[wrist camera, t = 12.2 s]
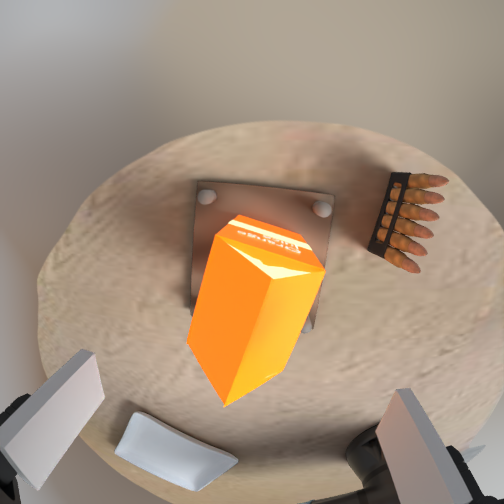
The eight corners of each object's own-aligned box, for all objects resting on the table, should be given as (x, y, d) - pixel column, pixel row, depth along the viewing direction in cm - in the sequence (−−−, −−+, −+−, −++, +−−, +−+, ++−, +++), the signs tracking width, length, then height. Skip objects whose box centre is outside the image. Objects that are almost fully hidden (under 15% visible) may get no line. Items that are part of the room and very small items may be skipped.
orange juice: (217, 282, 34) (161, 387, 15) (238, 213, 32) (192, 250, 13) (277, 302, 34) (285, 422, 15) (302, 234, 32) (350, 300, 13)
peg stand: (311, 324, 36) (316, 340, 32) (193, 310, 37) (184, 325, 32) (332, 195, 33) (341, 196, 28) (200, 181, 33) (190, 180, 29)
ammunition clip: (378, 254, 34) (423, 283, 22) (366, 250, 34) (408, 278, 22) (403, 177, 31) (457, 175, 20) (391, 172, 31) (443, 167, 20)
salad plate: (117, 444, 47) (112, 454, 43) (140, 399, 42) (133, 411, 39) (199, 483, 48) (196, 493, 45) (242, 447, 43) (241, 461, 40)
